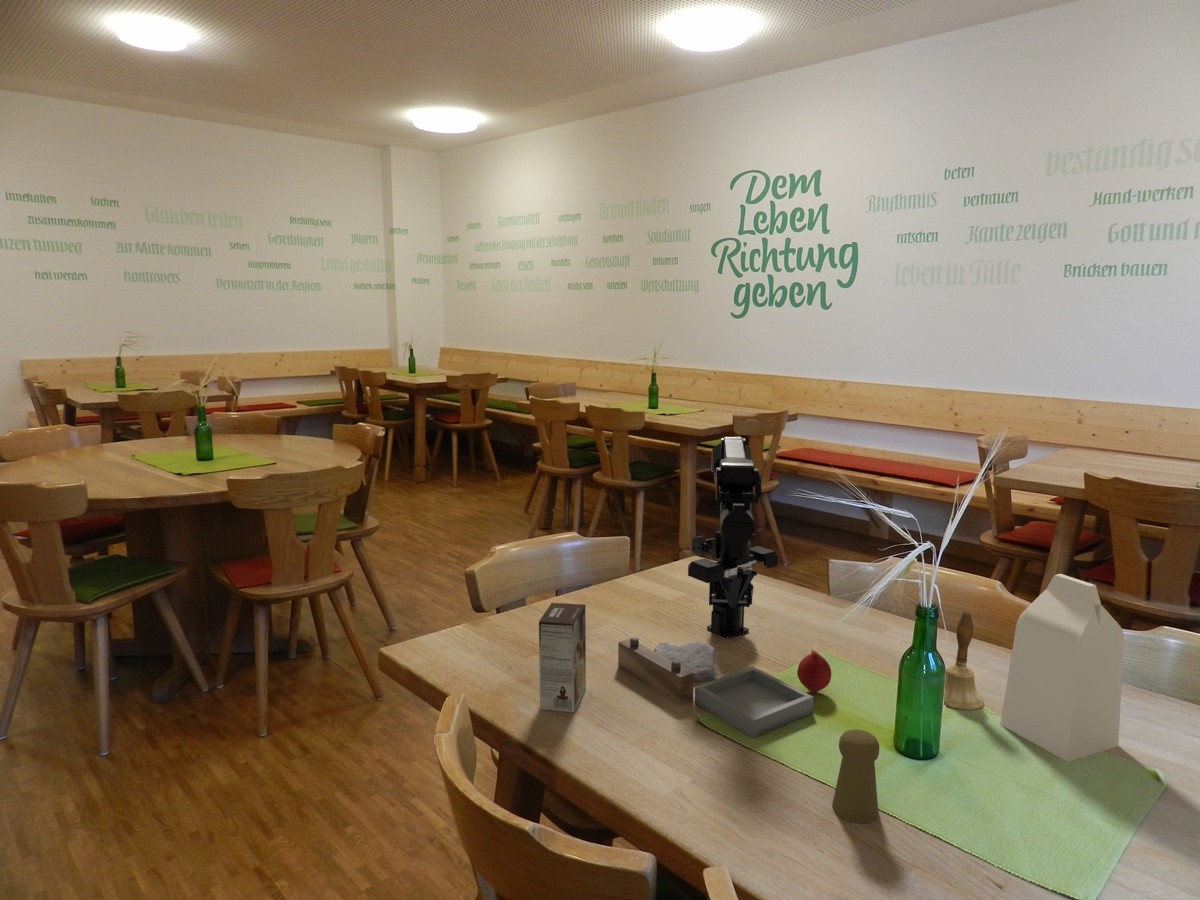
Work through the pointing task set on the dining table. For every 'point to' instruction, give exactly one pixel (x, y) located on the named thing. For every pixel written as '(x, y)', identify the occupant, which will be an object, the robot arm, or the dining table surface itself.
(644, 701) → the dining table surface
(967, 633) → the hand bell
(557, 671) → the coffee box
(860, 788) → the brown peg figure
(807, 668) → the onion
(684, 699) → the bar
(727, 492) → the robot arm
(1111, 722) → the milk
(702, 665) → the stone block
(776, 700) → the tray
